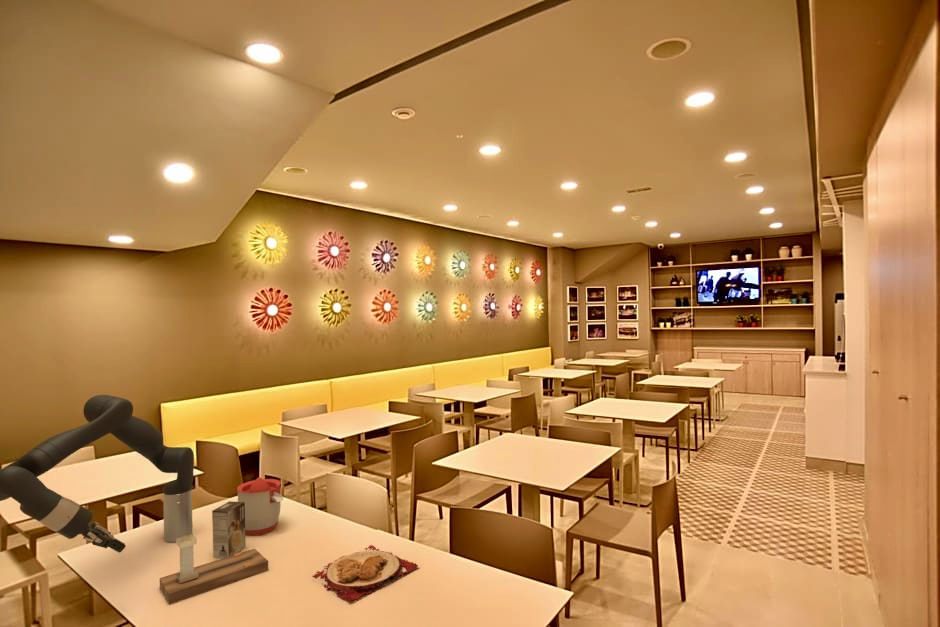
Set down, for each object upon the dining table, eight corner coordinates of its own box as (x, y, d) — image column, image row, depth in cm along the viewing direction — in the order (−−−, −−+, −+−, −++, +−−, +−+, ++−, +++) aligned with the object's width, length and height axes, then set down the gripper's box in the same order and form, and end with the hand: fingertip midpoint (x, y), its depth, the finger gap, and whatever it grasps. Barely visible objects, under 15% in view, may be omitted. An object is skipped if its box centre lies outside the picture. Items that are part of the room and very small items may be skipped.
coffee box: (230, 545, 181) (229, 500, 181) (246, 547, 180) (245, 501, 180) (212, 557, 172) (211, 510, 172) (228, 559, 171) (228, 511, 171)
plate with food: (419, 571, 163) (419, 559, 163) (350, 605, 143) (350, 592, 143) (371, 549, 179) (371, 539, 179) (303, 577, 159) (303, 565, 159)
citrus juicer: (267, 541, 184) (266, 486, 184) (227, 535, 189) (227, 482, 189) (293, 523, 199) (293, 473, 199) (256, 519, 204) (255, 469, 204)
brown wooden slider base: (159, 588, 153) (159, 577, 153) (254, 557, 172) (254, 547, 172) (169, 604, 144) (168, 592, 144) (268, 570, 163) (268, 559, 163)
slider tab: (175, 577, 153) (175, 538, 153) (193, 571, 156) (193, 533, 156) (179, 583, 149) (179, 543, 149) (198, 577, 153) (197, 538, 153)
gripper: (81, 511, 131) (138, 543, 139) (76, 498, 141) (129, 529, 149) (55, 538, 127) (115, 570, 136) (51, 522, 137) (108, 553, 145)
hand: (122, 548), depth 142 cm, fingers closed
